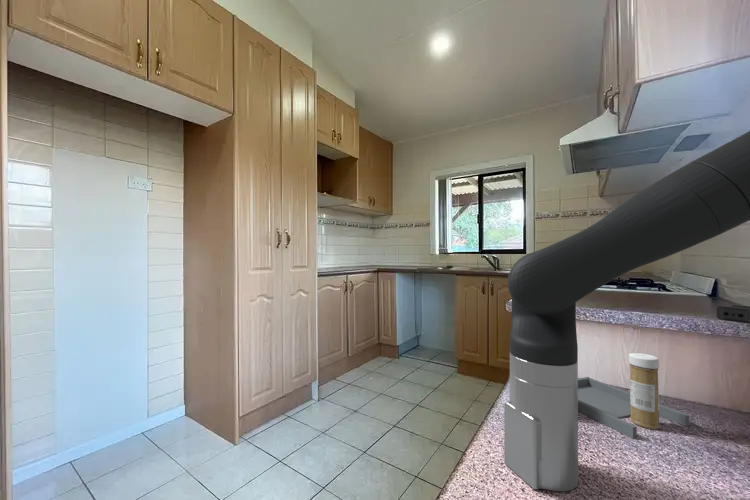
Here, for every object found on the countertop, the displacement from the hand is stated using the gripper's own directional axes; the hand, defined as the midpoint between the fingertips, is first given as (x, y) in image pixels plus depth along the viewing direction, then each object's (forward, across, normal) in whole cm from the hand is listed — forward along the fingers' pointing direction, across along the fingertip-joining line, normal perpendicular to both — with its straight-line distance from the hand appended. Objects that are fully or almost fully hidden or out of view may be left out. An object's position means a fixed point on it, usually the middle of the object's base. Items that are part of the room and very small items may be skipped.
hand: (725, 311), depth 51 cm
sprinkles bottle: (+12, 0, +24) cm, 27 cm away
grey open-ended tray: (+20, 0, +24) cm, 31 cm away
